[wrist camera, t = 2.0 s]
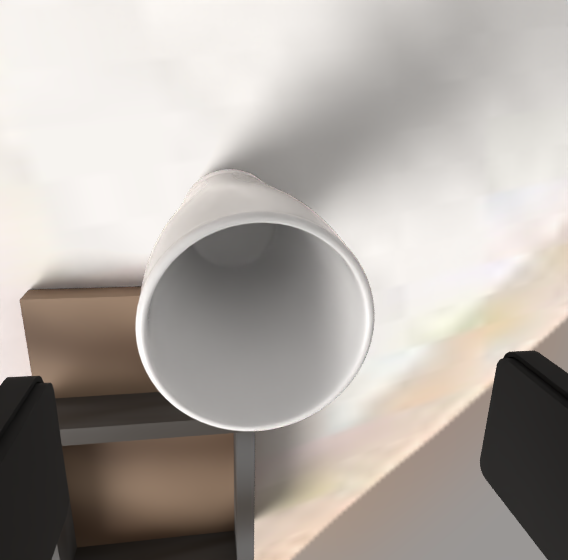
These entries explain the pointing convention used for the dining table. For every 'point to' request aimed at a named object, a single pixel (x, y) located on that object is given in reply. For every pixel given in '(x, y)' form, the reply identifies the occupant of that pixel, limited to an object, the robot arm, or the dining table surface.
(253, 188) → the white cup
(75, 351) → the open box
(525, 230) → the dining table surface
